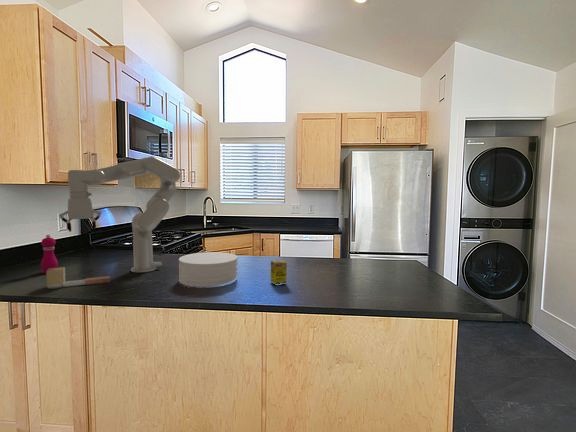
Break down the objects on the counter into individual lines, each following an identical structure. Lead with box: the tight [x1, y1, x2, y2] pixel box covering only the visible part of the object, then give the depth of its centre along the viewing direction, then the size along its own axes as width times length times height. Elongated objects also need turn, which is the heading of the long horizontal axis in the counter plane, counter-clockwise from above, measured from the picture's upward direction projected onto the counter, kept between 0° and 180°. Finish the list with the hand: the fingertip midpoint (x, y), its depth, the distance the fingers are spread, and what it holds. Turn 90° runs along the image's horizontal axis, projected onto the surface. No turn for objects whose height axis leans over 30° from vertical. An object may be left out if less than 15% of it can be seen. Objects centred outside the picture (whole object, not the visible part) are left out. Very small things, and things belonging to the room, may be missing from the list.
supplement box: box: [269, 260, 288, 284], centre depth 151 cm, size 6×6×11 cm
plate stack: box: [178, 251, 238, 286], centre depth 156 cm, size 28×28×12 cm
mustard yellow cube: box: [46, 266, 66, 285], centre depth 142 cm, size 6×6×6 cm
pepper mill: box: [40, 234, 59, 275], centre depth 166 cm, size 7×7×20 cm
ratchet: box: [46, 275, 111, 290], centre depth 146 cm, size 24×6×6 cm, turn 119°
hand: (82, 230), depth 155 cm, fingers open, 9 cm apart
